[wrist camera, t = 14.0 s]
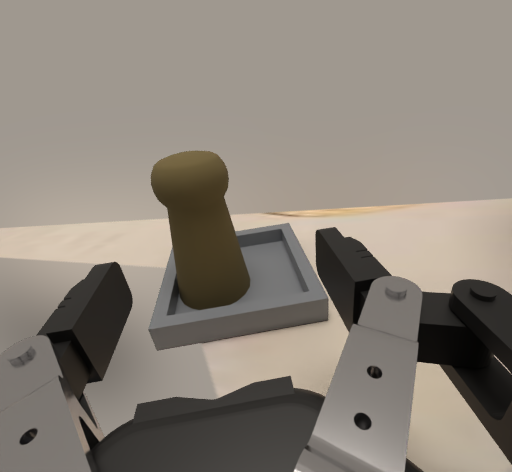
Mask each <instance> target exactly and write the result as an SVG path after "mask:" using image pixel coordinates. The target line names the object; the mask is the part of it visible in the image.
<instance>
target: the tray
mask: <svg viewBox="0 0 512 472" xmlns="http://www.w3.org/2000/svg"><path fill="white" fill-rule="evenodd" d="M235 233H236V236H237V239H238V242H239V245H240V249H241V252H242V255H243V258H244V261H245V264H246V267H247V270H248V273H249V276H250V287H249V289H248V291H247V292H246V294H245V295H244V296H243V297H242V298H240V299H239V300H238V301H237V302H235V303H233V304H231V305H227V306H221V307H216V308H210V309H204V310H196V309H192V308H190V307H188V306H186V305H185V304H184V303H183V302H182V300H181V299H180V295H179V288H178V280H177V273H176V266H175V259H174V252H173V247H172V250H171V254H170V257H169V261H168V264H167V268H166V271H165V275H164V278H163V282H162V285H161V288H160V292H159V295H158V298H157V302H156V306H155V309H154V312H153V316H152V319H151V322H150V326H149V332H150V334H151V337H152V339H153V342H154V344H155V347H156V349H157V350H163V349H169V348H174V347H180V346H186V345H191V344H196V343H202V342H208V341H214V340H219V339H225V338H230V337H236V336H242V335H247V334H253V333H258V332H264V331H270V330H275V329H281V328H286V327H292V326H298V325H303V324H309V323H314V322H320V321H326V320H328V297H327V295H326V293H325V291H324V289H323V287H322V285H321V283H320V281H319V280H318V278H317V276H316V274H315V272H314V270H313V268H312V266H311V264H310V262H309V260H308V259H307V257H306V255H305V253H304V251H303V249H302V247H301V245H300V243H299V241H298V240H297V238H296V236H295V234H294V232H293V230H292V228H291V226H290V224H289V223H286V224H280V225H273V226H267V227H261V228H255V229H248V230H242V231H236V232H235Z"/></svg>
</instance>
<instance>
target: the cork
mask: <svg viewBox="0 0 512 472" xmlns="http://www.w3.org/2000/svg"><path fill="white" fill-rule="evenodd" d="M228 180H229V178H228V171H227V168H226V166H225V164H224V162H223V161H222V159H221V158H220V157H219V156H218V155H217V154H215V153H213V152H209V151H188V152H187V151H186V152H181V153H177V154H174V155H171V156H168V157H166V158H164V159H161V160H160V161H158V162H157V163H156V164H155V165H154V167H153V170H152V174H151V185H152V188H153V192H154V194H155V195H156V197H157V199H158V200H159V201H160V202H161V203H162V204H163V205H165V206H166V207H167V209H168V216H169V224H170V231H171V238H172V245H173V252H174V259H175V266H176V273H177V280H178V288H179V295H180V299H181V300H182V302H183V303H184V304H185V305H186V306H188V307H190V308H192V309H196V310H204V309H210V308H216V307H221V306H227V305H231V304H233V303H235V302H237V301H238V300H239V299H240V298H242V297H243V296H244V295H245V294H246V292H247V291H248V289H249V287H250V276H249V273H248V270H247V267H246V264H245V261H244V258H243V255H242V252H241V249H240V245H239V242H238V239H237V236H236V233H235V230H234V227H233V224H232V221H231V218H230V214H229V211H228V208H227V205H226V202H225V199H224V195H225V192H226V191H227V188H228Z"/></svg>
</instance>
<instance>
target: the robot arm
mask: <svg viewBox="0 0 512 472" xmlns="http://www.w3.org/2000/svg"><path fill="white" fill-rule="evenodd" d="M316 266H317V271H318V275H319V277H320V279H321V281H322V283H323V285H324V286H325V288H326V290H327V292H328V294H329V296H330V298H331V300H332V301H333V303H334V305H335V307H336V309H337V311H338V313H339V314H340V316H341V318H342V320H343V322H344V324H345V326H346V328H347V329H348V331H349V335H348V338H347V341H346V343H345V346H344V349H343V351H342V354H341V357H340V359H339V362H338V365H337V368H336V370H335V373H334V376H333V378H332V381H331V384H330V387H329V389H328V392H327V395H326V397H325V396H323V395H320V394H318V393H315V392H312V391H309V390H304V389H298V388H293V384H292V380H291V376H287V377H282V378H276V379H271V380H266V381H260V382H255V383H252V384H250V385H247V386H245V387H243V388H241V389H238V390H236V391H234V392H232V393H229V394H227V395H225V396H223V397H220V398H218V399H214V400H208V399H207V400H206V399H194V398H182V397H173V398H168V399H162V400H157V401H152V402H146V403H141V404H137V408H136V412H135V416H134V419H132V420H130V421H128V422H127V423H125V424H123V425H121V426H120V427H118V428H117V429H115V430H114V431H112V432H111V433H110V434H108V435H107V436H106V437H104V435H103V432H102V430H101V428H100V426H99V423H98V421H97V419H96V416H95V414H94V412H93V410H92V407H91V405H90V403H89V400H88V398H87V396H86V394H85V393H84V391H83V390H84V388H85V386H86V384H87V383H92V382H98V381H102V380H103V378H104V375H105V373H106V370H107V368H108V365H109V363H110V360H111V358H112V355H113V353H114V350H115V348H116V345H117V343H118V341H119V338H120V335H121V333H122V331H123V328H124V325H125V323H126V321H127V318H128V316H129V313H130V311H131V308H132V294H131V291H130V289H129V286H128V284H127V282H126V279H125V277H124V274H123V272H122V270H121V268H120V265H119V264H118V263H117V262H111V263H105V264H99V265H95V266H94V267H93V268H92V269H91V271H90V272H89V274H88V275H87V277H86V278H85V279H84V280H82V281H80V282H79V283H78V284H77V285H75V286H74V287H73V288H72V289H71V290H70V291H69V292H68V294H67V295H66V296H65V298H64V301H62V302H61V303H60V304H59V306H58V309H56V310H55V311H54V313H53V314H52V315H51V316H50V318H49V319H48V320H47V322H46V323H45V324H44V326H43V327H42V329H41V330H40V331H39V333H38V334H37V335H36V336H32V337H29V338H26V339H24V340H21V341H19V342H17V343H16V344H14V345H12V346H11V347H9V348H8V349H7V350H5V351H4V352H3V353H1V355H0V472H423V471H422V470H421V469H420V468H418V467H417V466H416V465H415V464H413V463H412V462H411V461H410V460H408V459H407V458H406V454H407V445H408V436H409V427H410V418H411V409H412V400H413V391H414V382H415V373H416V364H417V362H424V363H433V364H439V365H440V366H441V368H442V369H443V370H444V372H445V373H446V374H447V376H448V377H449V379H450V380H451V381H452V383H453V384H454V385H455V387H456V388H457V390H458V391H459V392H460V394H461V395H462V397H463V398H464V399H465V401H466V402H467V403H468V405H469V406H470V408H471V409H472V410H473V412H474V413H475V414H476V416H477V417H478V419H479V420H480V421H481V423H482V424H483V426H484V427H485V428H486V430H487V431H488V432H489V434H490V435H491V437H492V438H493V439H494V441H495V442H496V444H497V445H498V446H499V448H500V449H501V450H502V452H503V453H504V455H505V456H506V457H507V459H508V460H509V461H510V463H511V464H512V375H511V374H512V295H511V294H510V293H508V292H507V291H505V290H504V289H502V288H500V287H499V286H496V285H494V284H491V283H489V282H485V281H480V280H472V279H467V280H461V281H458V282H456V283H455V284H454V285H453V287H452V291H451V293H432V292H422V291H421V289H420V288H419V287H418V286H417V285H416V284H415V283H413V282H411V281H409V280H407V279H404V278H401V277H396V276H392V275H391V274H390V273H389V272H388V271H387V270H386V269H385V268H384V267H383V266H382V265H381V264H380V263H379V261H378V260H377V259H376V258H375V257H373V255H372V254H371V253H370V252H369V251H367V248H366V247H365V246H364V245H363V244H362V243H361V242H359V241H357V240H355V239H353V238H351V237H346V238H344V237H343V236H342V234H341V233H340V232H339V231H338V230H337V228H335V227H333V228H326V229H320V230H317V231H316ZM494 355H495V356H496V357H497V358H498V359H499V360H500V361H501V362H502V363H503V364H504V365H505V366H506V367H507V368H508V370H509V371H510V372H511V374H510V373H509V372H508V370H507V369H506V368H505V367H504V366H503V365H502V364H501V363H500V362H499V361H498V360H497V359H496V358H495V357H494Z"/></svg>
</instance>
